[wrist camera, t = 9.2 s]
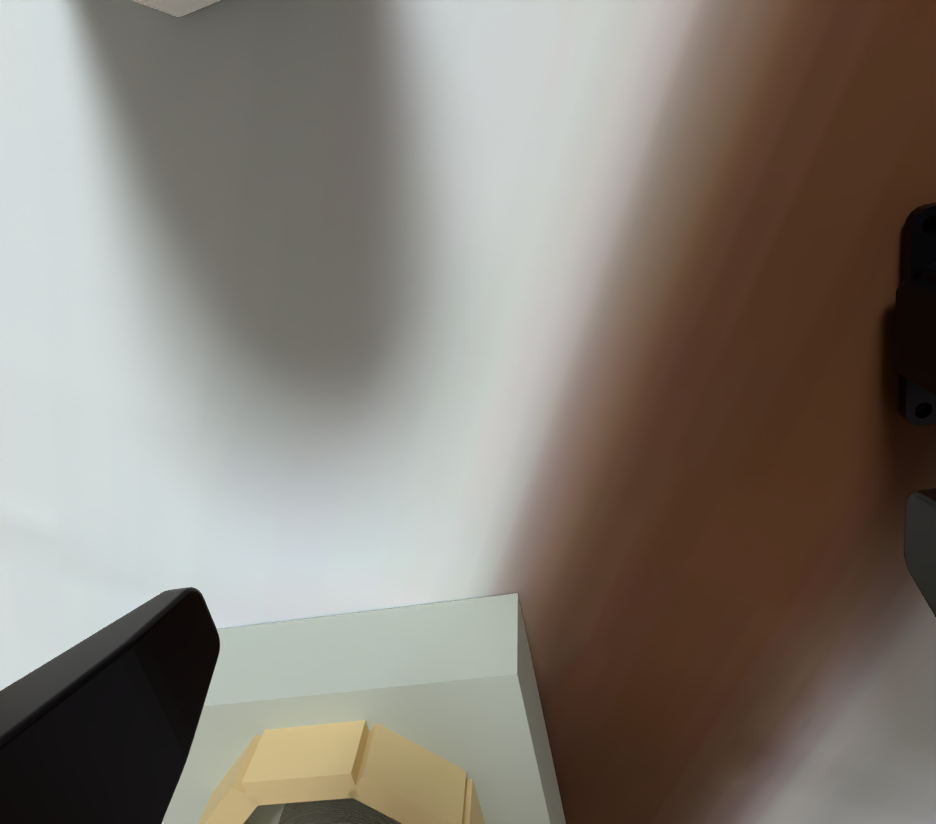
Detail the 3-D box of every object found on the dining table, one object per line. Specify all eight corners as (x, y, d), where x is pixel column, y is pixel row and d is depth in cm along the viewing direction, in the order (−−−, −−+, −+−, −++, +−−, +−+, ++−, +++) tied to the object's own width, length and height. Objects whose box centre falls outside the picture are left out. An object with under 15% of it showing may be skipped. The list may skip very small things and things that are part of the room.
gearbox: (517, 593, 24) (516, 726, 19) (565, 822, 29) (576, 986, 23) (98, 643, 27) (-13, 775, 21) (199, 848, 31) (130, 1002, 25)
